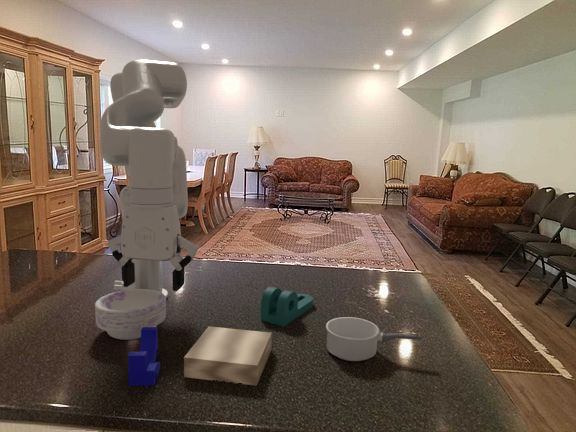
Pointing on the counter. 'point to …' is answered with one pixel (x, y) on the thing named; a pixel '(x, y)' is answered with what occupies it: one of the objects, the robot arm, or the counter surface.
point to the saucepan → (357, 338)
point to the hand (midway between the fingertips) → (153, 286)
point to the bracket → (283, 306)
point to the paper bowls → (130, 312)
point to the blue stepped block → (144, 359)
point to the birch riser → (228, 355)
